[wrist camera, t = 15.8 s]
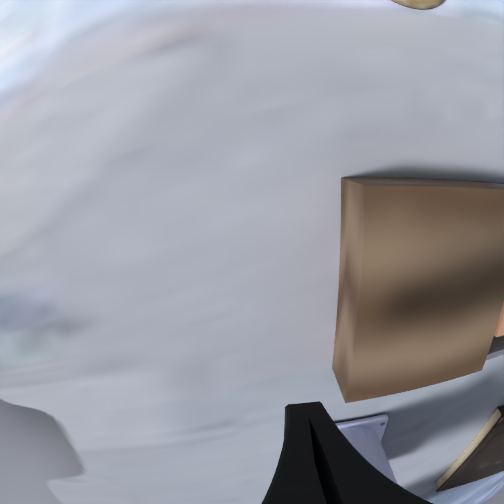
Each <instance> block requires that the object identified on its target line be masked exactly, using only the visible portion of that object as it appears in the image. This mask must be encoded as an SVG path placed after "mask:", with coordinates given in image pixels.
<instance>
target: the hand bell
mask: <svg viewBox="0 0 504 504" xmlns="http://www.w3.org/2000/svg"><path fill="white" fill-rule="evenodd" d="M392 1H394V2H396V3H398V4H401V5H403V6H406V7H411V8H415V9H431V8H434V7H436V6H438V5H440V4H441V3H442V2H443V1H444V0H392Z"/></svg>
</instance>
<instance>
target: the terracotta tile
mask: <svg viewBox="0 0 504 504" xmlns="http://www.w3.org/2000/svg"><path fill="white" fill-rule="evenodd" d="M503 335H504V302H503V306H502V310H501V313H500V317H499V320H498V324H497V327H496V330H495V334H494V336H495V337H499V336H503Z"/></svg>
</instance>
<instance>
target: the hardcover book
mask: <svg viewBox="0 0 504 504" xmlns="http://www.w3.org/2000/svg"><path fill="white" fill-rule="evenodd" d="M502 471H504V406H499V407H497V409H496V411H495V412H494V414H493V415H492V416H491V418H490V419H489V420H488V422H487V423H486V424H485V426H484V427H483V428H482V430H481V431H480V432H479V434H478V435H477V436H476V437H475V439H474V440H473V441H472V442H471V443H470V445H469V446H468V447H467V448H466V449H465V451H464V452H463V453H462V454H461V455H460V456H459V458H458V459H457V460H456V461H455V462H454V463H453V464H452V465H451V467H450V468H449V469H448V470H447V471H446V472H445V473H444V474H443V475H442V476H441V477H440V478H439V479H438V480H437V481H436V484H437V486H438V489H437V490H436V492H439V491H443V490H446V489H450V488H454V487H457V486H461V485H464V484H467V483H470V482H473V481H477V480H480V479H482V478H485V477H488V476H491V475H494V474H496V473H499V472H502Z"/></svg>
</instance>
